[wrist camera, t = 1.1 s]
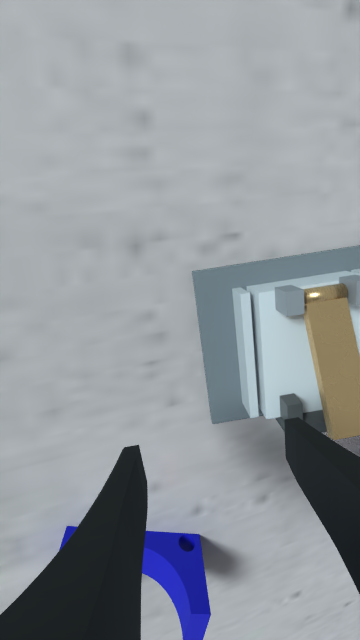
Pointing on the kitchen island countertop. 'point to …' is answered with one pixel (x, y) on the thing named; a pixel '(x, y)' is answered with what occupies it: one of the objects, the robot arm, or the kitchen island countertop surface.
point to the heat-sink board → (223, 317)
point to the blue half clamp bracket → (176, 576)
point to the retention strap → (334, 357)
